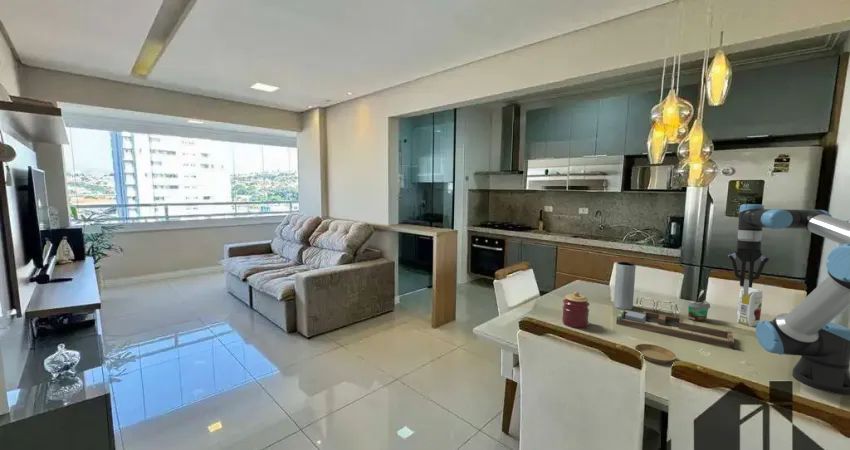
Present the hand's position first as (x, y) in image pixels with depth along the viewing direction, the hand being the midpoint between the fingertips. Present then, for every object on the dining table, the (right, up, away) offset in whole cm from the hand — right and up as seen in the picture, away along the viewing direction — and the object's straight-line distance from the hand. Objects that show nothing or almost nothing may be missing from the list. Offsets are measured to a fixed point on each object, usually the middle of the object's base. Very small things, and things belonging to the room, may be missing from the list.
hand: (745, 294), depth 149 cm
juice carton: (+35, -23, +36) cm, 55 cm away
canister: (-58, -23, +35) cm, 72 cm away
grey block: (-26, -23, +36) cm, 50 cm away
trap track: (-11, -24, +29) cm, 39 cm away
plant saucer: (-40, -27, -1) cm, 48 cm away
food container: (+13, -23, +40) cm, 48 cm away
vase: (-17, -20, +61) cm, 67 cm away
